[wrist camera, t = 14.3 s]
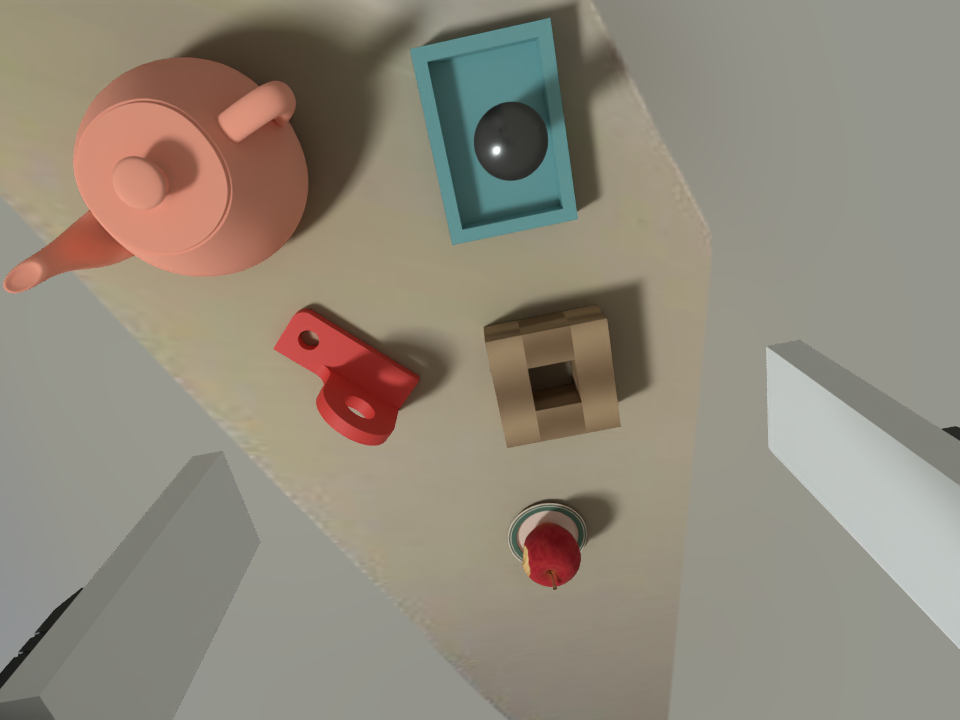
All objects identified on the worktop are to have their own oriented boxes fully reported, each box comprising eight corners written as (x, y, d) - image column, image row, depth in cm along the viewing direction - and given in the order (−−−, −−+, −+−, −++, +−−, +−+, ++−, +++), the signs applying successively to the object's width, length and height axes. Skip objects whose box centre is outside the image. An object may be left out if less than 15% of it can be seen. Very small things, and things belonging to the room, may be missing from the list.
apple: (538, 577, 62) (546, 626, 56) (491, 528, 60) (494, 574, 54) (601, 537, 60) (616, 583, 54) (555, 486, 58) (566, 527, 52)
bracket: (419, 376, 53) (412, 416, 46) (393, 413, 55) (382, 457, 47) (302, 303, 51) (274, 333, 43) (277, 344, 52) (246, 380, 45)
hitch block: (483, 327, 52) (485, 342, 48) (596, 304, 51) (607, 318, 47) (504, 426, 55) (507, 447, 52) (610, 406, 55) (620, 426, 51)
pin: (466, 116, 45) (467, 110, 31) (518, 104, 45) (542, 94, 31) (476, 170, 46) (481, 187, 33) (526, 159, 46) (553, 172, 32)
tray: (412, 53, 44) (409, 49, 41) (545, 23, 43) (550, 17, 41) (453, 239, 49) (452, 244, 47) (572, 214, 48) (577, 219, 46)
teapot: (172, 324, 51) (87, 380, 40) (36, 169, 46) (-105, 183, 35) (379, 181, 47) (352, 198, 36) (255, -4, 42) (177, -52, 31)
